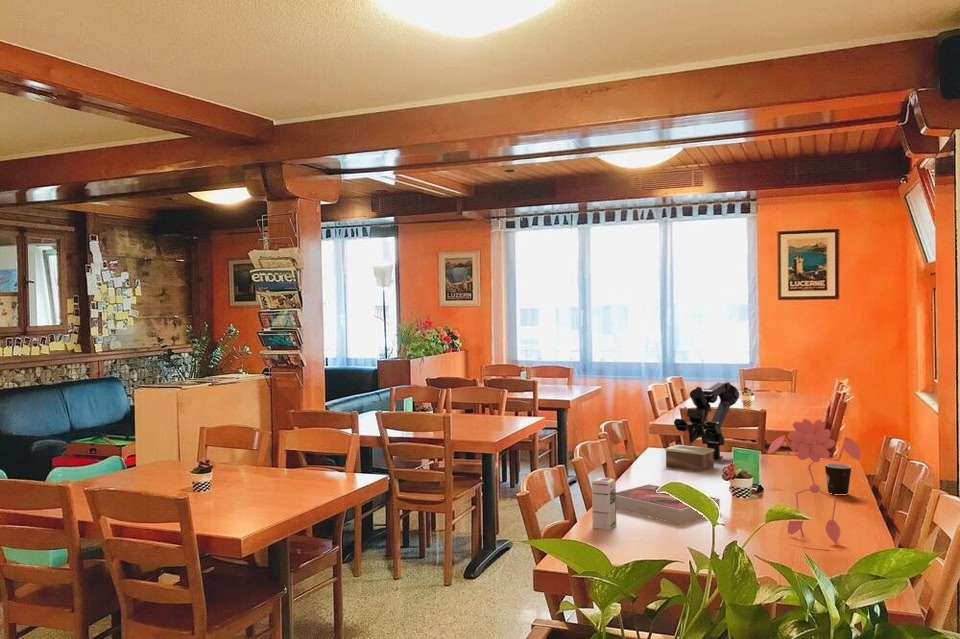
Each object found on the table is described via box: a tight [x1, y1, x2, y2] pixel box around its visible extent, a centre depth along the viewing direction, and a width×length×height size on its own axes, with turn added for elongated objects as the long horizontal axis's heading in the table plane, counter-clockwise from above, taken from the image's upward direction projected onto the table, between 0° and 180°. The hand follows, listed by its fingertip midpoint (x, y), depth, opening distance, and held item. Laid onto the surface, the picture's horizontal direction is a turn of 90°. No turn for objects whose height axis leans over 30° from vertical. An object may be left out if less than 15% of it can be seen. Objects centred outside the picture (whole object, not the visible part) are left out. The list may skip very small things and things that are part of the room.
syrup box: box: [591, 477, 617, 531], centre depth 230 cm, size 6×6×14 cm
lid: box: [664, 444, 714, 455], centre depth 320 cm, size 12×17×1 cm
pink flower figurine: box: [767, 418, 861, 552], centre depth 214 cm, size 15×26×35 cm, turn 49°
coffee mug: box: [824, 463, 852, 494], centre depth 269 cm, size 12×9×10 cm
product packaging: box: [616, 483, 721, 525], centre depth 250 cm, size 22×28×5 cm
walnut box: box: [665, 451, 715, 472], centre depth 320 cm, size 12×16×6 cm
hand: (690, 442), depth 320 cm, fingers closed
